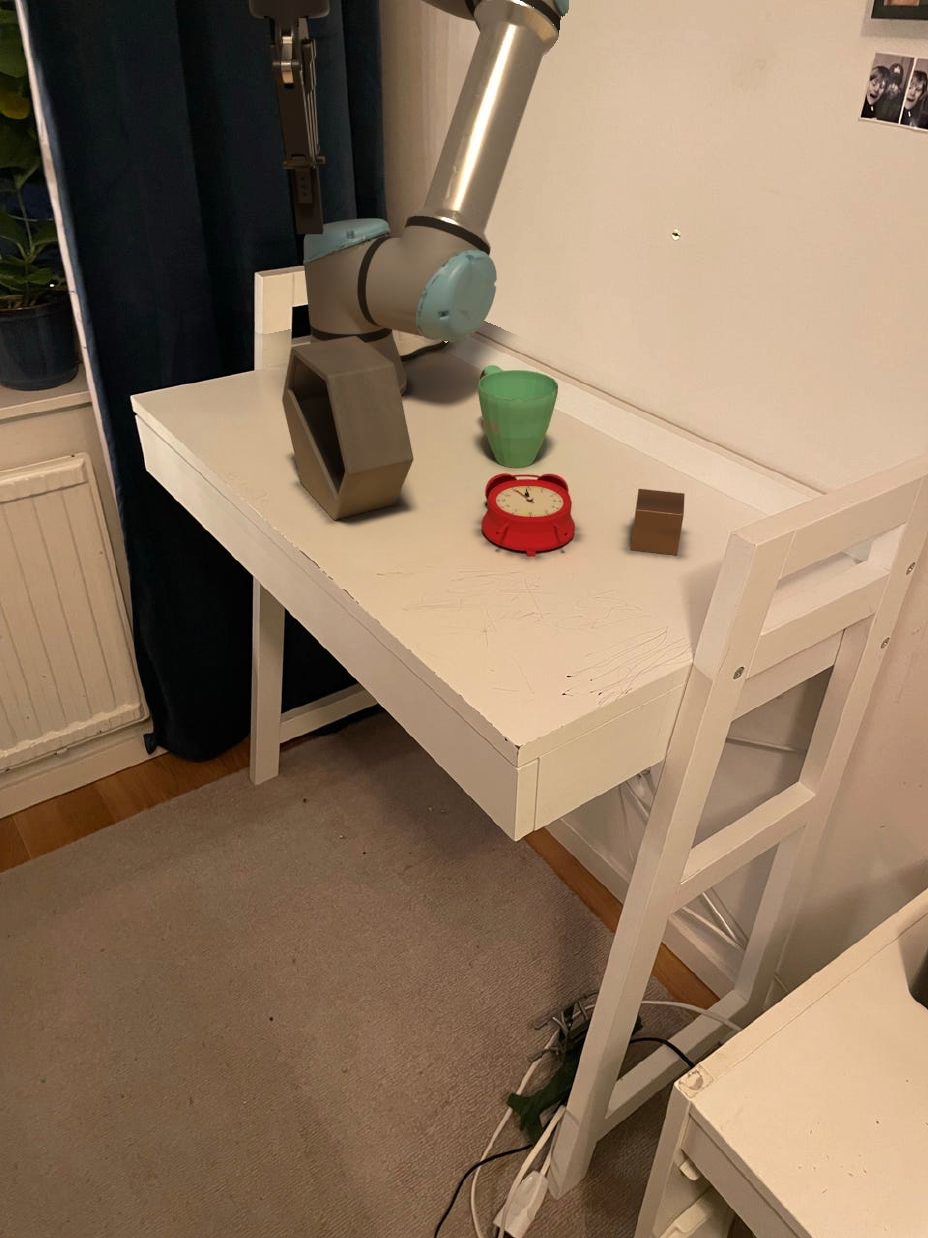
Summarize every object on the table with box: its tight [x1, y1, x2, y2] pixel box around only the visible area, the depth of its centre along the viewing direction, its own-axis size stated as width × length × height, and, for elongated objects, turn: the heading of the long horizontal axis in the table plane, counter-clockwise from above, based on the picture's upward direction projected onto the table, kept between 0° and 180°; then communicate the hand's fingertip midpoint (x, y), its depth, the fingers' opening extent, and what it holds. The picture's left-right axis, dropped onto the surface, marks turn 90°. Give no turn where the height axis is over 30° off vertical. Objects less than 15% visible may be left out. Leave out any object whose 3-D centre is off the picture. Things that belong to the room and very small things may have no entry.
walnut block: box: [630, 488, 686, 556], centre depth 102 cm, size 5×5×5 cm
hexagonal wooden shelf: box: [281, 336, 414, 521], centre depth 106 cm, size 17×8×21 cm
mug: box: [477, 364, 559, 469], centre depth 118 cm, size 15×10×10 cm
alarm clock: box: [481, 472, 576, 557], centre depth 105 cm, size 10×6×15 cm
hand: (310, 232), depth 101 cm, fingers closed
